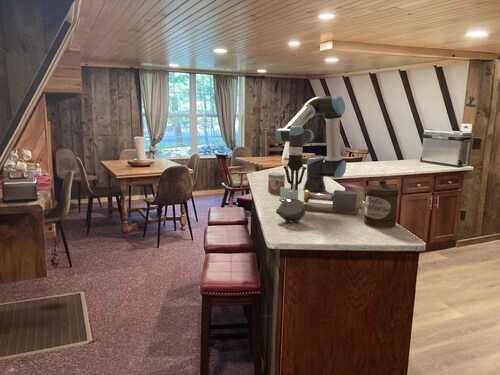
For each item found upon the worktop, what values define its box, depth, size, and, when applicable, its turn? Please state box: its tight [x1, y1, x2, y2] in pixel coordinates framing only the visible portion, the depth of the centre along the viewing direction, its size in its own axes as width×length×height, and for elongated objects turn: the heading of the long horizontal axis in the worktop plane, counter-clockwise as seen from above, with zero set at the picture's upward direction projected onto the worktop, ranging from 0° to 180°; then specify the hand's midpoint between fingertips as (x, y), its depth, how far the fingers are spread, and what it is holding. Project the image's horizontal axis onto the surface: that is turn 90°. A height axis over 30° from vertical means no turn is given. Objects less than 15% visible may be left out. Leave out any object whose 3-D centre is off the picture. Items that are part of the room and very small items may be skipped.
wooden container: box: [363, 178, 399, 229], centre depth 186 cm, size 15×15×22 cm
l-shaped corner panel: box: [278, 187, 299, 202], centre depth 236 cm, size 12×12×8 cm
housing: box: [332, 189, 357, 211], centre depth 212 cm, size 8×12×9 cm
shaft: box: [303, 190, 333, 202], centre depth 215 cm, size 7×21×7 cm, turn 73°
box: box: [344, 184, 364, 208], centre depth 225 cm, size 10×6×12 cm, turn 21°
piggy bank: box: [275, 198, 307, 225], centre depth 187 cm, size 11×15×12 cm
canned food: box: [267, 172, 286, 194], centre depth 263 cm, size 11×11×12 cm
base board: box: [302, 201, 359, 216], centre depth 216 cm, size 16×36×2 cm, turn 73°
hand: (293, 195), depth 220 cm, fingers closed
